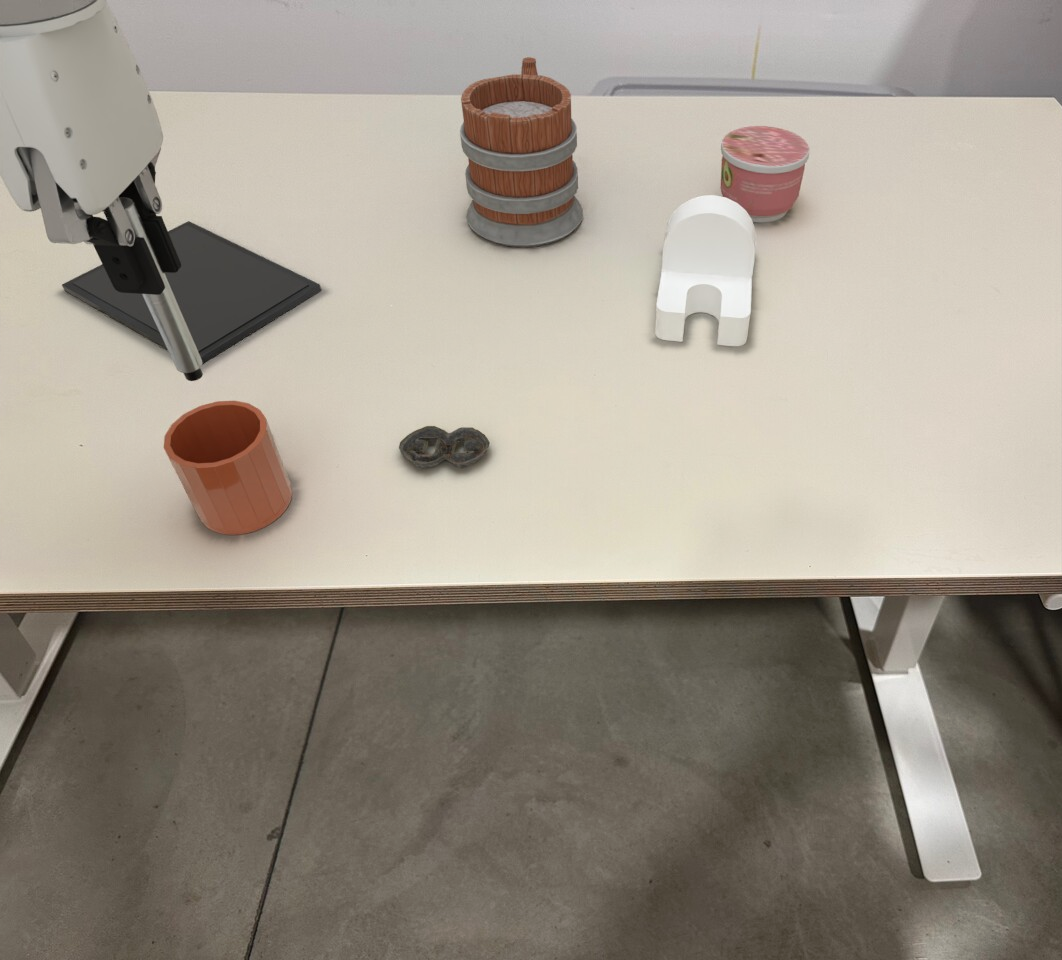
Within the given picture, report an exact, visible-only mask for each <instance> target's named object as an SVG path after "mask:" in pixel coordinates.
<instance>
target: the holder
mask: <svg viewBox="0 0 1062 960" xmlns="http://www.w3.org/2000/svg"><path fill="white" fill-rule="evenodd" d="M163 450H164V451H165V454H166V456H167V457H168V459H169V462H170V464H171V465H172V467H173V469H174V471H175V473H176V475H177V477H178V479H179V481H180V483H181V485H182V487H183V489H184V491H185V493H186V495H187V497H188V499H189V500H190V502H191V505H192V507H193V509H194V511H195V512H196V515H197V516H198V518H199V520H200V521H201V523H202V524H203V526H205V528H207V529H208V530H210V531H212V532H215V533H218V534H221V535H227V536H228V535H229V536H230V535H231V536H235V535H237V536H238V535H245V534H249V533H253V532H256V531H258V530H262V529H264V528H266V527H268V526H269V525H271V524H273V523H274V522H275V521H277V520H278V519H279V518H280V517H281V516H283V514H284V513H285V512H286V510H287V509H288V507H289V505H290V504H291V500H292V497H293V488H292V485H291V481H290V479H289V476H288V472H287V470H286V467H285V465H284V462H283V460H282V457H281V454H280V452H279V449H278V447H277V443H276V442H275V438H274V436H273V433H272V430H271V428H270V425H269V422H268V420H267V418H266V417H265V415H264V413H263V411H262V410H261V409H259V408H258V407H256V406H254V405H252V404H251V403H249V402H245V401H239V400H219V401H213V402H209V403H206V404H202V405H199V406H197V407H195V408H192V409H191V410H188V411H187V412H185V413H183V414H182V415H180V417H178V419H176V420H175V421H174V422H173V423H172V424H171V425H170V426H169V428H168V430H167V431H166V432H165V435H164V439H163Z"/></svg>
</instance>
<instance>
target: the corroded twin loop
mask: <svg viewBox="0 0 1062 960" xmlns="http://www.w3.org/2000/svg"><path fill="white" fill-rule="evenodd" d="M429 442H436V443H435V447H434V452H433V453H431V454H424V452H426V451H427V448H428V445H429V444H428V443H429ZM459 442H464V444H463V452H456V447H457V443H459ZM489 447H490V440H489V439H488V438H487V436H486V434H485V433H483V432H481V431H480V430H479V429H476V428H474V427H466V426H465V427H463V426H461V427H459V428H457V429H455V430H453V431H451V432H448V431H446V430H445V429H442V428H440V427H438V426H436V425H425V426H423V427H421V428H419V429H418V428H417V429H416V430H414V431H412V432H411V433H408V434H407V435H406V436H405V437H403V439H401V440H400V441H399V445H398V449H399V451H400V453H401V455H403V456H404V457H405V458H406V459H407V460H408V461H410V462H411V463H413V464H414V465H415V466H416V467H418V468H420V469H428V468H434V467H436V466H437V465H439V464H440V463H442V462H444V461H448V463H451V464H452V465H454V466H456V467H457V468H464V467H466V466H468V465H472V464H474V463H476V462H478V461H479V460H480V459H481V458H482V457H483V456H484V455H485V454H486V452H487V450H488V449H489Z"/></svg>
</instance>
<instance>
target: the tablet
mask: <svg viewBox="0 0 1062 960" xmlns="http://www.w3.org/2000/svg"><path fill="white" fill-rule="evenodd" d="M167 231H168V233H169V236H170V238H171V240H172V243H173V245H174V248H175V250H176V253H177V255H178V257H179V260H180V262H181V268H180V269H179V270H178V272H175V273H169V272H164V273H165V276H166V278H167V280H168V283H169V285H170V287H171V290H172V292H173V294H174V297H175V299H176V301H177V303H178V306H179V308H180V310H181V313H182V315H183V317H184V320H185V322H186V324H187V327H188V329H189V331H190V334H191V336H192V338H193V341H194V343H195V345H196V348H197V350H198V352H199V355H200V357H201V359H202V365H203V364H205V363H206V362H208V361H209V360H211V359H213V358H214V357H216V356H218V355H219V354H220V353H222V352H224V351H226V350H227V349H229V348H231V347H232V346H234V345H236V344H237V343H239V342H241V341H242V340H243V339H245V338H247V337H248V336H251V334H253V333H255V332H257V331H258V330H260V329H261V328H262V327H264V326H266V325H268V324H270V323H271V322H273V321H274V320H276V319H277V318H279V317H280V316H282V315H284V314H285V313H287V312H289V311H291V310H292V309H294V308H295V307H296V306H299V305H300V304H302V303H304V302H305V301H307V300H308V299H310V298H311V297H313V296H315V295H316V294H318V293H320V292H321V291H322V288H321V284H320V283H318V282H316V281H313V280H311V279H310V278H307V277H306V276H303V275H301V274H299V273H297V272H295V271H293V270H291V269H289V268H286V267H285V266H282V265H280V264H278V263H277V262H274V261H272V260H270V259H268V258H267V257H264V256H262V255H260V254H259V253H258V254H257V253H256V252H254V251H251V250H249V249H247V248H245V247H244V246H241V245H239V244H237V243H235V242H234V241H231V240H229V239H227V238H224V237H223V236H222V235H221V236H220V235H218V234H216V233H214V232H212V231H210V230H208V229H206V228H204V227H202V226H199V225H198V224H195V223H194V222H191V221H189V220H188V221H185V222H184V223H181V224H180V225H177V226H175V227H174V228H172V229H169V230H167ZM61 287H62V288H63V290H64V292H66V293H68V294H70V295H71V296H73V297H75V298H77V299H78V300H80V301H82V302H84V303H85V304H87V305H89V306H91V307H92V308H93V309H96V310H97V311H99V312H101V313H103V314H104V315H106V316H108V317H110V318H111V319H113V320H114V321H117V322H119V323H120V324H122V325H124V326H125V327H127V328H129V329H131V330H133V331H134V332H136V333H137V334H140V335H141V336H142V337H144V338H146V339H148V340H150V341H151V342H154V343H155V344H157V345H159V346H161V347H162V348H164V349H166V350H167V351H168V349H167V347H166V345H165V343H164V340H163V338H162V336H161V334H160V332H159V329H158V327H157V325H156V323H155V321H154V319H153V316H152V314H151V312H150V310H149V308H148V306H147V303H146V301H145V299H144V297H143V295H142V294H136V293H121V292H118V291H117V290H115V288H114V287H113V285H112V283H111V281H110V279H109V277H108V274H107V272H106V270H105V268H104V266H103V264H102V263H101V264H100V265H98V266H96V267H94V268H92V269H90V270H88V271H86V272H84V273H82V274H80V275H78V276H76V277H74V278H72V279H70V280H68V281H66V282H64V283H62V284H61Z"/></svg>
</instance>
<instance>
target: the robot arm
mask: <svg viewBox="0 0 1062 960" xmlns="http://www.w3.org/2000/svg"><path fill="white" fill-rule="evenodd" d="M134 55H135V54H134V53H133V51H132V49H131V47H130V44H129V42H128V40H127V38H126V36H125V34H124V32H123V30H122V27H121V26H120V24H119V22H118V20H117V18H116V16H115V15H114V13H113V10H112V9H111V6H110V4H109V3H108V2H107V0H0V177H1V180H2V182H3V184H4V186H5V188H6V189H7V191H8V193H9V195H10V197H11V199H13V201H14V203H15V204H16V206H17V207H18V208H19V209H20V210H22V211H23V212H36V211H38V210H40V212H41V216H42V220H43V225H44V228H45V234H46V237H47V239H48V241H49V242H50V243H52V244H67V245H77V244H80V243H84V244H85V245H92V246H93V248H94V249H95V252H96V254H97V256H98V258H99V261H100V262H101V265H102V264H103V266H104V268H105V270H106V272H107V274H108V277H109V279H110V281H111V283H112V285H113V287H114V288H115V290H117V291H118V292H121V293H136V294H153V295H160V294H161V293H162V292H163V290H164V289H165V285H164V282H163V280H162V278H161V275H160V273H159V271H158V268H157V266H156V264H155V261H154V259H153V257H152V254H151V252H150V250H149V248H148V245H147V243H146V241H145V239H144V237H135V233H134V230H133V228H132V226H131V223H130V221H129V219H128V217H127V214H126V212H125V210H124V208H123V206H122V203H121V201H120V199H119V197H127V198H130V199H132V200H133V201H134V203H135V206H136V208H137V210H138V213H139V215H140V217H141V220H142V222H143V224H144V227H145V229H146V231H147V234H148V236H149V238H150V241H151V243H152V245H153V248H154V250H155V252H156V255H157V257H158V259H159V262H160V264H161V266H162V269H163V271H164V272H169V273H175V272H178V270H179V269H180V268H181V262H180V260H179V257H178V255H177V253H176V250H175V248H174V245H173V243H172V240H171V238H170V236H169V233H168V231H169V230H168V229H167V226H166V223H165V221H164V219H163V217H162V215H160V214H161V213H162V210H163V202H162V199H161V196H160V194H159V191H158V189H157V186H156V175H157V171H156V165H157V163H158V159H159V156H160V154H161V150H162V145H163V143H164V142H163V141H164V132H163V128H162V125H161V121H160V118H159V115H158V112H157V109H156V106H155V103H154V101H153V97H152V96H151V95H152V94H151V93H150V90H149V88H148V85H147V82H146V81H145V77H144V76H143V73H142V71H141V69H140V66H139V64H138V61H137V59H136V57H135V56H134ZM102 212H103V214H104V216H105V218H106V219H105V218H104V217H100V216H95V215H98V214H100V213H102Z"/></svg>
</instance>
